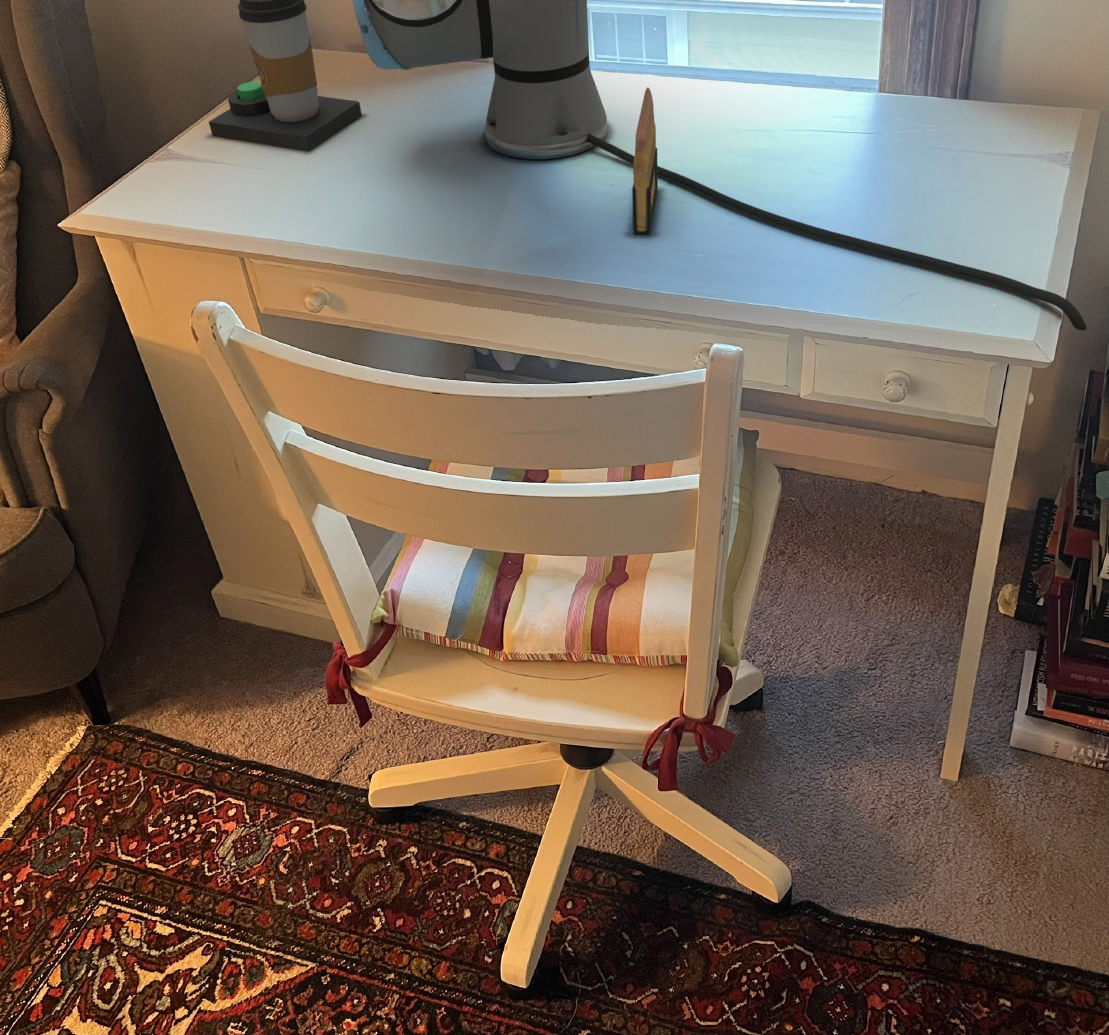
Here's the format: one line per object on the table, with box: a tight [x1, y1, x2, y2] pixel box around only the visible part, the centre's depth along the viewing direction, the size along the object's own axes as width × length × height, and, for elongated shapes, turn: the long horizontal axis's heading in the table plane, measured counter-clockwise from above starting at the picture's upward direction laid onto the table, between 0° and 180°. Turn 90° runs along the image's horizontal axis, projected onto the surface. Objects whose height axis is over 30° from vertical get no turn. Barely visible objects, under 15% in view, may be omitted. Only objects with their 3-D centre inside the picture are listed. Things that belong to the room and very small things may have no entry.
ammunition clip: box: [631, 87, 659, 235], centre depth 116 cm, size 11×2×12 cm, turn 172°
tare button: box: [237, 81, 264, 101], centre depth 145 cm, size 3×3×2 cm
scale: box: [208, 87, 363, 152], centre depth 144 cm, size 16×12×4 cm
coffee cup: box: [237, 0, 319, 122], centre depth 138 cm, size 8×8×15 cm
